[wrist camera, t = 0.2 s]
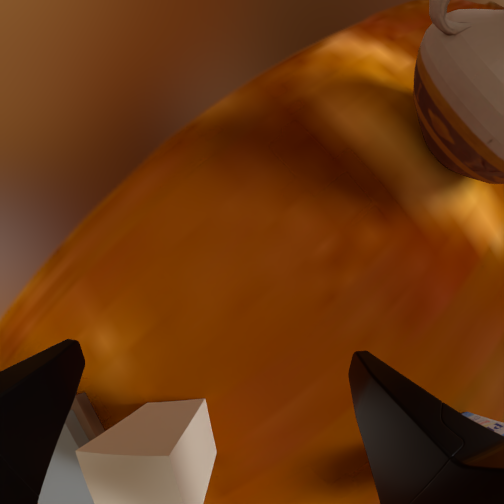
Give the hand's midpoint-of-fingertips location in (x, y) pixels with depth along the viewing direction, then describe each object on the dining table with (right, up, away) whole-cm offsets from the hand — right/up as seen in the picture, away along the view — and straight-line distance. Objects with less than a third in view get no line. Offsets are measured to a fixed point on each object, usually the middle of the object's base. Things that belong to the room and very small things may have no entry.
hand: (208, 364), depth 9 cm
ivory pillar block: (-4, -11, +13) cm, 17 cm away
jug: (+24, +16, +20) cm, 35 cm away
